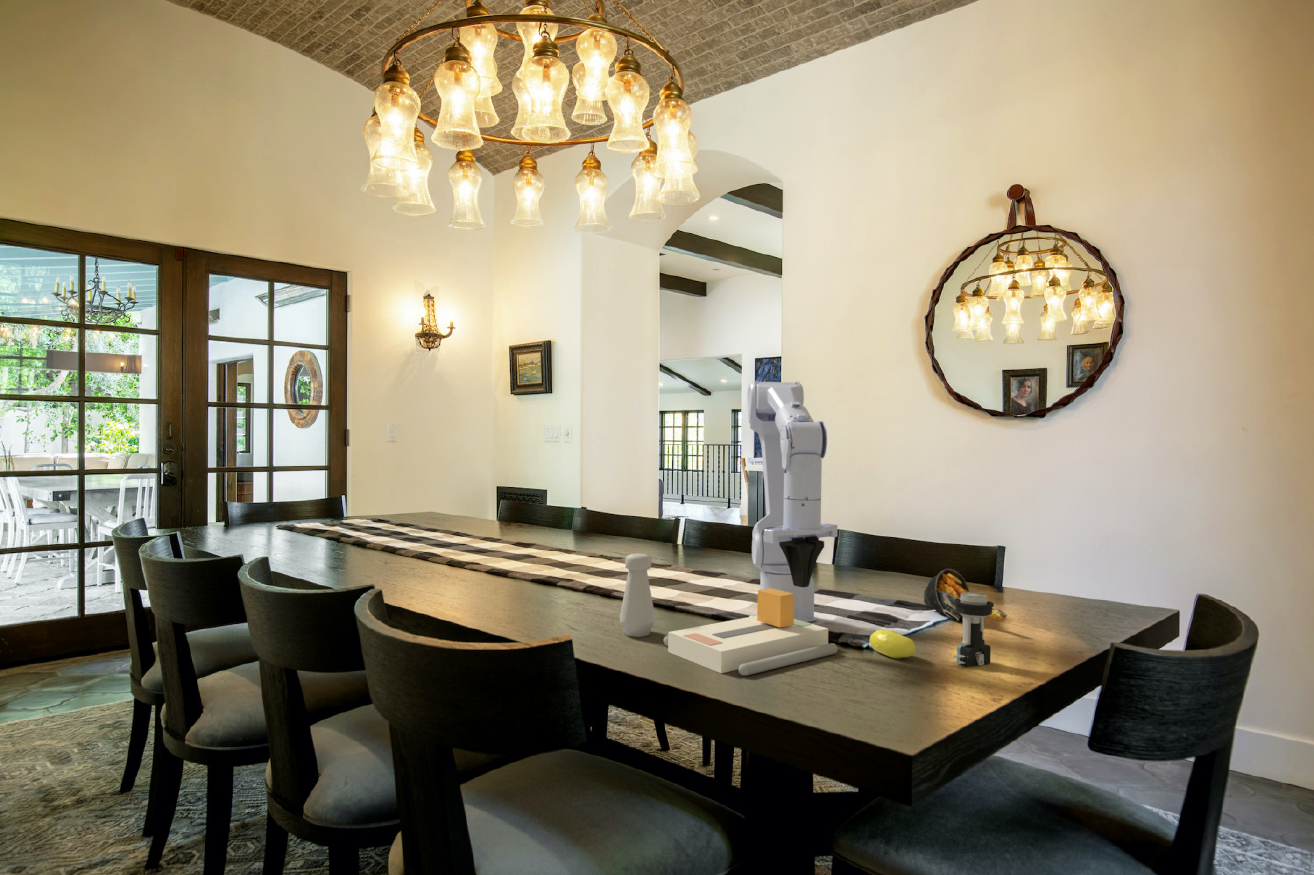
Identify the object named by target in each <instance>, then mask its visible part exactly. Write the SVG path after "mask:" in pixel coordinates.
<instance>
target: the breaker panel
mask: <svg viewBox="0 0 1314 875" xmlns="http://www.w3.org/2000/svg"><path fill="white" fill-rule="evenodd" d="M667 636H668V646H667V652H668V653H670V654H672V655H674V656H677V657H679V658H682V659H684V660H686V661H689V662H691V663H695V664H696V665H699V666H702V667H704V668H707V669H709V670H712V671H714V672H717V673H719V674H724V673H728V672H731V671H737V670H738V668H739V666H740V665H741V664H744V663H748V662H753V661H757V660H761V659H766V658H770V657H774V656H778V655H783V654H787V653H791V652H795V651H800V650H804V649H808V648H813V647H817V646H821V645H825V644H829V628H828V627H824V626H821V625H817V624H814V623H811V622H803V621H800V620H796V619H794V625H790V626H785V627H777V626H774V625H770V624H767V623H764V622H760V621H757V616H753V617H749V616H748V617H742V618H737V619H730V620H725V621H721V622H717V623H710V624H705V625H700V626H699V625H698V626H694V627H689V628H684V629H677V630H672V631H668V634H667Z"/></svg>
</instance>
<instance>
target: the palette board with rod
mask: <svg viewBox="0 0 1314 875" xmlns="http://www.w3.org/2000/svg"><path fill="white" fill-rule="evenodd" d="M663 643H664V645H665V646H667V647H668V635H665V636H664V637H663ZM837 652H838V646H837V644H835V643H832V642H831V643H828V644H825V645H821V646H817V647H813V648H808V649H804V650H800V651H795V652H791V653H787V654H783V655H778V656H774V657H770V658H766V659H761V660H757V661H753V662H748V663H744V664H741V665H740V666H739V668H738V669H737V670H738V674H740V675H741V676H743V677H746V676H751V675H754V674H755V675H756V674H759V673H762V672H767V671H771V670H774V669H779V668H782V667H783V668H784V667H786V666H791V665H795V664H798V663H799V664H800V663H803V662H807V661H811V660H815V659H819V658H820V659H821V658H823V657H824V658H825V657H828V656H832V655H835V654H836V653H837Z"/></svg>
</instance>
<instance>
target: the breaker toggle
mask: <svg viewBox="0 0 1314 875" xmlns="http://www.w3.org/2000/svg"><path fill="white" fill-rule="evenodd" d="M756 605H757V608H756V612H757V613H756V614H757V621H760V622H764V623H767V624H770V625H774V626H777V627H785V626H790V625H794V594H793V593H789V592H784V591H780V590H776V589H772V588H769V589H763V590H760V589H758V590H757V604H756Z"/></svg>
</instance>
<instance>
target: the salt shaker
mask: <svg viewBox="0 0 1314 875" xmlns="http://www.w3.org/2000/svg"><path fill="white" fill-rule="evenodd" d="M652 563H653V562H652V557H651V556H650V555H649V554H646V553H641V552H639V553H637V552H636V553H631V554H628V555H627V556H626V557H625V560H624V565H625V568H626V569H627V570H628V572H627V578H626V581H625V582H626V583H625V588H624V594H623V599H622V604H621V608H620V615H619V624H620V625H621V628H622V630H623V633H624V634H625V635H627V637H634V638H635V637H637V638H642V637H647V636H650V634H651V631H652V628H653V627H654V625H655V622H656V617H655V616H656V615H655V610H654V603H653V599H652V598H653V597H652V593H651V586H650V580H649V574H648V570H651V568H652Z"/></svg>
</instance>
